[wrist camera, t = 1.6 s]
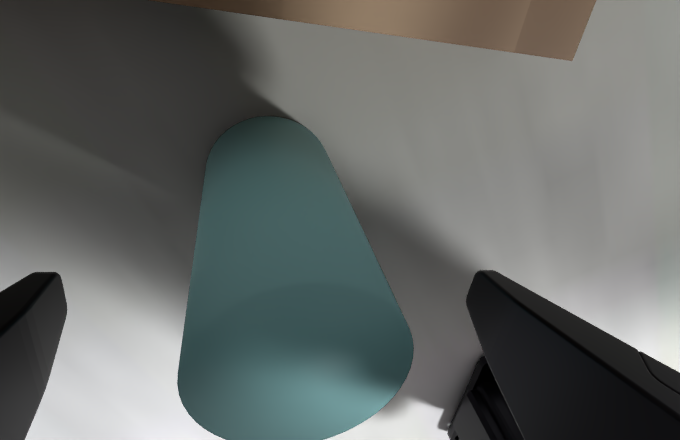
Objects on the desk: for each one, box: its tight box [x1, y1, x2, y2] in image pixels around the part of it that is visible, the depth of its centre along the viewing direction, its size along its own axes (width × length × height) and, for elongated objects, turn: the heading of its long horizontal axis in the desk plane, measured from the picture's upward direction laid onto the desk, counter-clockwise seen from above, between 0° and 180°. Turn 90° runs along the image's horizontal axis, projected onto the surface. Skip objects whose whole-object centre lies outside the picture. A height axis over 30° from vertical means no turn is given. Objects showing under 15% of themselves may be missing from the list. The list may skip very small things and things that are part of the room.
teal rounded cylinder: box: [177, 116, 414, 440], centre depth 11 cm, size 4×4×8 cm
